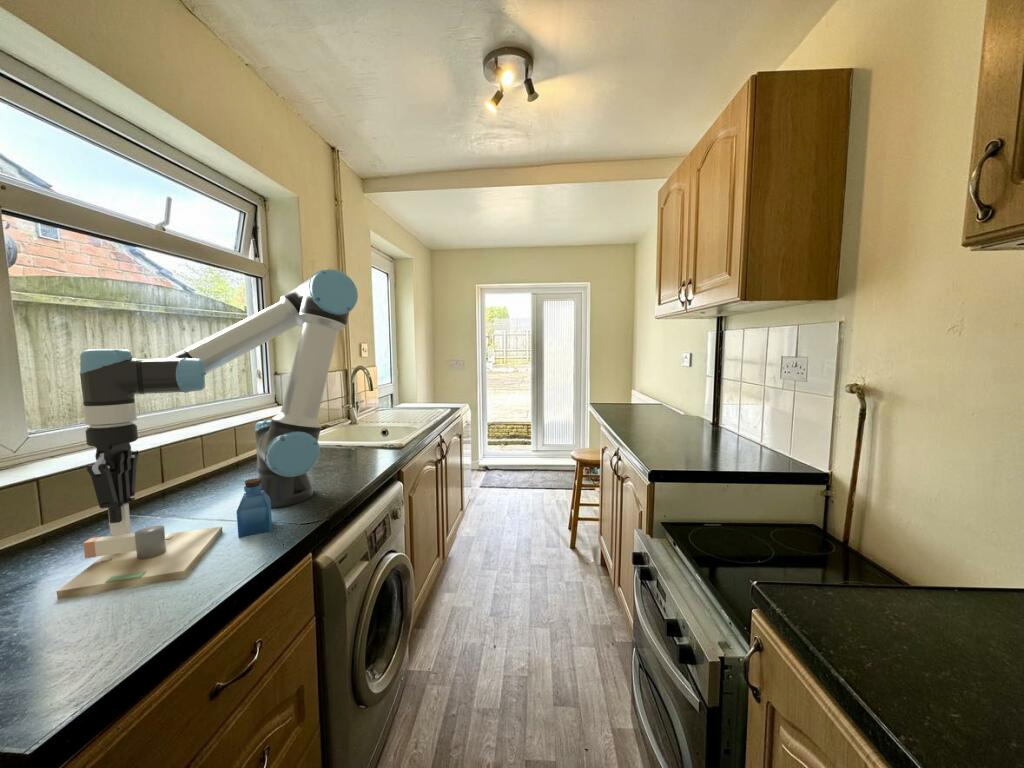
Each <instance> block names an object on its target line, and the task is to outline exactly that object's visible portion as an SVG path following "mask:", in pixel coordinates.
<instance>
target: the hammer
mask: <svg viewBox="0 0 1024 768" xmlns="http://www.w3.org/2000/svg"><path fill="white" fill-rule="evenodd" d="M165 534H166V533H165V526H164V525H161V524H160V525H150V526H146V527H143V528H140V529H138V530H136V531H135V532H131V533H129V534H121V535H113V536H110V535H107V536H97V537H90V538H89V539H87V540H86V541H84V542H83V543H82V544H83V551H84V559H90V558H96V557H102V556H104V555H111V554H118V553H125V552H132V551H136V552H137V559H140V560H144V559H150V558H154V557H157V556H159V555H161V554H163V553H165V552H166V542H165Z"/></svg>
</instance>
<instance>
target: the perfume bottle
mask: <svg viewBox="0 0 1024 768" xmlns="http://www.w3.org/2000/svg"><path fill="white" fill-rule="evenodd" d="M244 484H245V485H244V487H243V490H244V493H243V496H242V498H241V499H240V502H239V505H238V507H237V509H236V525H237V535H238V536H237V537H238V538H237V539H241V538H247V537H252V536H257V535H262V534H268V533H271V530H272V524H273V517H272V508H271V500H270V497H269V496H268V494H267V493H266V492H265V491H264V490H263V491H260V489H262V485H261V484H260V479H259V478H258V477H257V478H249V479H246V480H244Z"/></svg>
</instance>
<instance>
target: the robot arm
mask: <svg viewBox="0 0 1024 768" xmlns="http://www.w3.org/2000/svg"><path fill="white" fill-rule="evenodd" d="M358 298H359V293H358V288H357V286H356V284H355V283H354V281H353V279H352V278H351V277H350V276H349V275H347V274H346V273H344V272H342V271H341V270H339V269H338V270H337V269H332V268H331V269H322V270H318V271H316V272H315V273H313V274H312V276H310V277H309V278H306V280H304V281H303V282H301V284H300V285H298V286H297V287H295V288H294V289H292V290H291V291H289V292H288V293H286V294H284V295H282V296H280V299H279V301H278V302H276V303H275V304H273V305H270V306H268V307H267V308H266V307H265V308H264V309H262V310H260V311H259V312H257V313H254V314H252V315H251V316H248V317H246V318H244V319H243V320H240V321H238V322H237V323H233V325H230V326H228V327H226V328H224V329H222V330H221V331H218V332H216V333H214V334H212V335H210V336H209V337H206V338H204V339H202V340H200V341H198V342H195V343H194V344H192V345H190V346H188V347H186V348H184V349H182V350H181V351H178V352H176V353H174V354H172V355H170V356H168V357H166V358H134V356H133V355H132V352H131V351H130V350H129V349H86V350H84V351H83V350H82V352H80V354H79V356H80V357H79V361H80V362H79V364H80V368H79V369H80V370H79V375H80V385H81V394H82V405H83V410H82V413H83V414H84V424H85V425H87V426H89V427H86V428H85V431H84V432H85V439H86V445H87V446H88V447H94V448H95V449H96V451H95V456H94V457H95V460H96V461H95V462H94V464H89V465H87V466H86V471H87V472H88V474H89V475H90V477H91V481H92V485H93V488H94V491H95V492H94V493H95V495H96V498H97V503H98V506H99V508H100V509H108V511H107V512H108V520H109V522H108V523H109V532H110V535H109V536H113V535H121V534H129V533H132V528H131V515H130V507H129V506H130V503H132V502H135V500H136V498H135V497H134V496H135V495H136V483H137V481H136V480H137V478H136V477H137V461H138V458H139V454H140V453H139V450H132V446H131V443H133V442H136V441H137V440H138V439H139V437H138V434H139V433H138V424H136V423H135V421H137V419H138V418H137V417H138V416H137V409H136V408H137V406H136V399H135V395H146V394H167V393H169V394H173V393H185V394H187V393H191V392H200V391H203V390H204V389H205V388H206V380H205V379H206V378H205V375H207V374H209V373H211V372H213V371H215V370H216V369H218V368H219V369H220V367H222V366H224V365H226V364H228V363H230V362H231V361H234V360H235V359H237V358H239V357H241V356H243V355H245V354H247V353H249V352H250V351H252V350H254V349H256V348H259V347H260V346H262V345H263V344H265V343H267V342H269V341H271V340H272V339H274V338H276V337H278V336H280V335H282V334H284V333H285V332H287V331H290V330H291V329H293V328H296V327H301V330H300V331H301V332H300V335H299V339H298V343H297V347H296V351H295V354H294V357H293V362H292V365H291V371H290V374H289V379H288V381H287V386H286V390H285V394H284V398H283V402H282V406H281V409H280V412H279V413H278V414H277V415H275V416H273V417H272V418H271V419H269V420H268V419H267V420H262V421H261V420H260V421H258V422H256V423H255V425H254V428H255V429H254V435H255V444H256V446H255V447H256V460H257V461H256V462H257V478H259V479H260V484H261V485H262V489H260V491H263V490H264V491H265V492H266V493H267V494H268V496H269V497H270V500H271V509H272V508H281V507H285V506H286V507H287V506H290V505H291V506H292V505H295V504H297V503H301V502H303V501H306V500H308V499H309V498H311V497H312V496H313V495H314V486H313V483H312V481H311V478H310V477H309V475H308V472H309V471H311V469H313V468H314V467H315V466H316V464H317V462H318V460H319V458H320V456H321V455H320V453H321V448H320V443H319V438H320V433H321V429H322V425H321V423H320V422H319V420H318V416H319V412H320V407H321V402H322V400H323V394H324V390H325V388H326V387H325V386H326V383H327V378H328V376H329V371H330V367H331V362H332V358H333V354H334V351H335V346H336V342H337V339H338V335H339V332H340V331H342V330H343V329H345V328H346V327H347V323H348V319H349V315H350V312H351V311H352V310H353V309H355V307H356V305H357V302H358Z"/></svg>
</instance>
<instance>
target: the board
mask: <svg viewBox="0 0 1024 768" xmlns="http://www.w3.org/2000/svg"><path fill="white" fill-rule="evenodd" d="M222 534H223V526H217V527H210V528H201V529H195V530H187V531H177V532H171V533H165V542H166V552H165V553H163V554H161V555H159V556H157V557H154V558H150V559H144V560H140V559H137V552H136V551H132V552H125V553H118V554H111V555H104V556H100V558H98V559H97V560H96V561H95V562H92V563H91V564H90V565H89V566H87V568H85V569H84V570H83V571H81V572H80V573H79V574H77V575H76V576H75V577H73V578H72V579H71V580H69V581H68V582H67V583H65V584H64V585H62V586H61V587H60V588H59V589H57V590H56V597H57V598H56V599H57V600H62V599H69V598H74V597H75V598H76V597H79V596H80V597H81V596H88V595H94V594H98V593H99V594H100V593H106V592H111V591H118V590H123V589H130V588H135V587H140V586H148V585H154V584H159V583H165V582H171V581H178V580H183V579H186V577H187V576H188V575H189V573H190V572H191V571H193V569H194V568H195V566H196V565H197V564H198V563H199V562H200V561H201V560H202V558H203V557H204V556H205V555H206V554H207V552H208V551H209V550H210V549H211V547H212V546H214V544H215V542H216V541H217V540H218V539H219V537H221V535H222Z"/></svg>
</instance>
